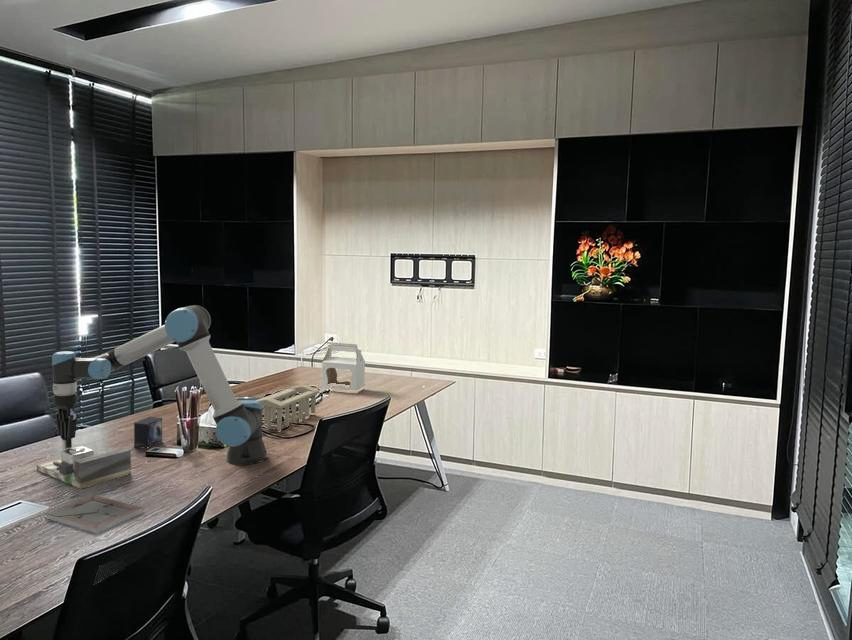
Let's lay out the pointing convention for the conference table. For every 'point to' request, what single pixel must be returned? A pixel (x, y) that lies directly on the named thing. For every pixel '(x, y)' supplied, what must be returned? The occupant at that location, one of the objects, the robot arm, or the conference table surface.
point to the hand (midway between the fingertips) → (67, 455)
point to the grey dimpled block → (75, 454)
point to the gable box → (343, 367)
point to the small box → (147, 432)
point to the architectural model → (288, 404)
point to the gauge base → (92, 468)
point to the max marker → (65, 468)
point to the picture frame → (94, 513)
